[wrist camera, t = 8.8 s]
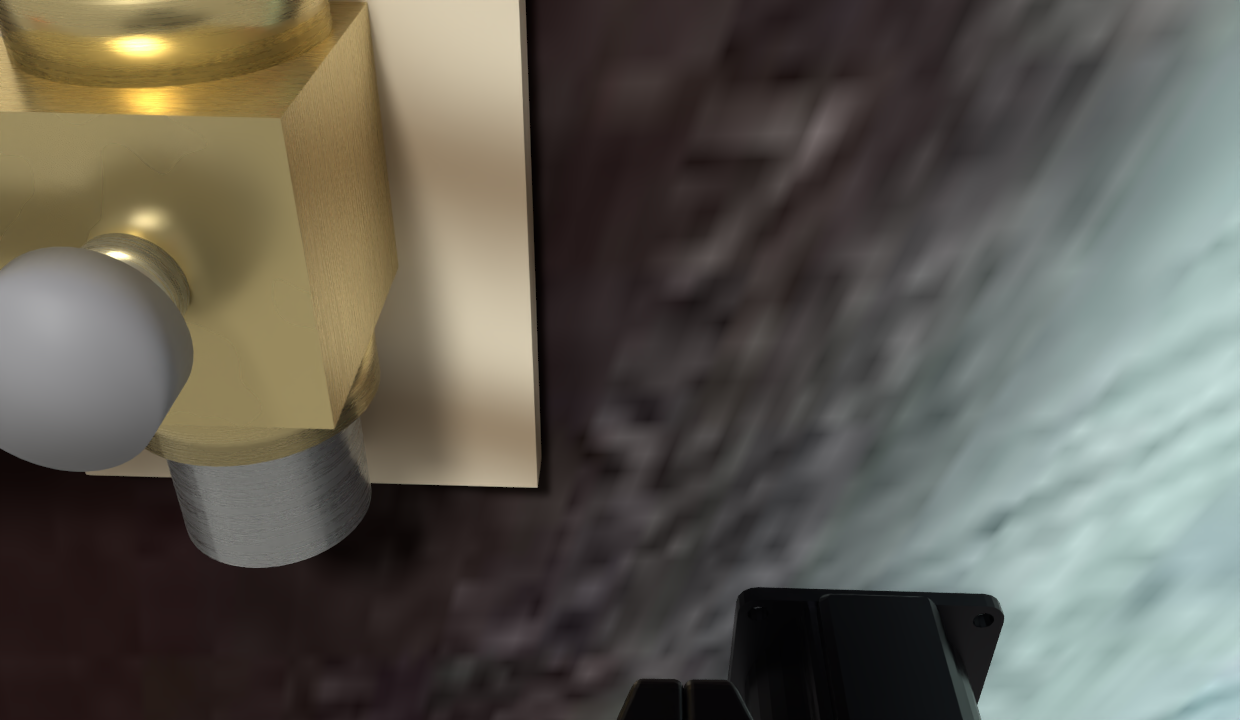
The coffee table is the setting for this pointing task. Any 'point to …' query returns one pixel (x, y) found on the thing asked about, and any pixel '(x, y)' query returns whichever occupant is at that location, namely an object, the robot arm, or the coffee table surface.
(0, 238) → the valve
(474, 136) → the valve board
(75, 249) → the valve lever
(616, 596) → the coffee table surface
